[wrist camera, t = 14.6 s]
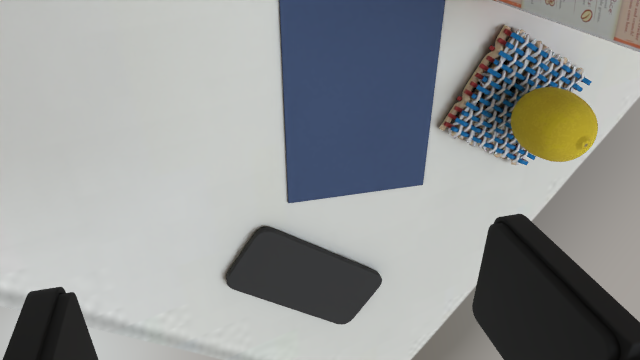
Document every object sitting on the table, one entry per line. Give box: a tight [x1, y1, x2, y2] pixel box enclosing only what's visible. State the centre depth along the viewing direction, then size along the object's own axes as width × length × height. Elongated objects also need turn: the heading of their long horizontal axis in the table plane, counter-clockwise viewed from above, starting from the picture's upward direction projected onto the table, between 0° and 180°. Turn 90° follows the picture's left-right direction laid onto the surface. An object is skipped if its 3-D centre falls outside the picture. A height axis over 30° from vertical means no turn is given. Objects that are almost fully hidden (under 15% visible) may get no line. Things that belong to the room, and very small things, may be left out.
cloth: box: [279, 0, 445, 203], centre depth 40 cm, size 18×13×1 cm
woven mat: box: [439, 25, 591, 165], centre depth 43 cm, size 10×11×2 cm
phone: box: [226, 227, 382, 324], centre depth 48 cm, size 7×1×15 cm
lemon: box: [511, 87, 598, 162], centre depth 39 cm, size 6×6×8 cm
